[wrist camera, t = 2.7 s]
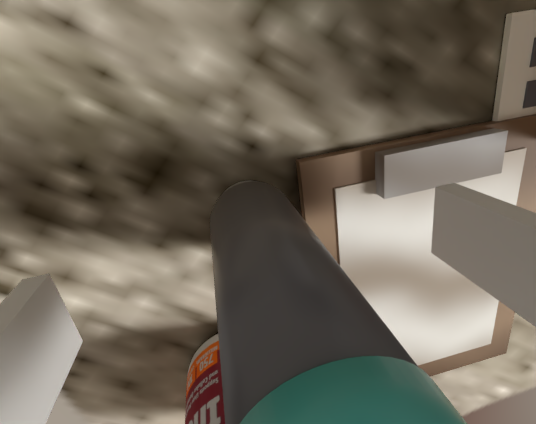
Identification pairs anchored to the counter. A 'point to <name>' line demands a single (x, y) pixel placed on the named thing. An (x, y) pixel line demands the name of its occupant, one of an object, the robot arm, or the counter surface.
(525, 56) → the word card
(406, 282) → the clipboard
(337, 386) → the marker
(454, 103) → the counter surface
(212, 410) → the pill bottle
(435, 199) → the robot arm
